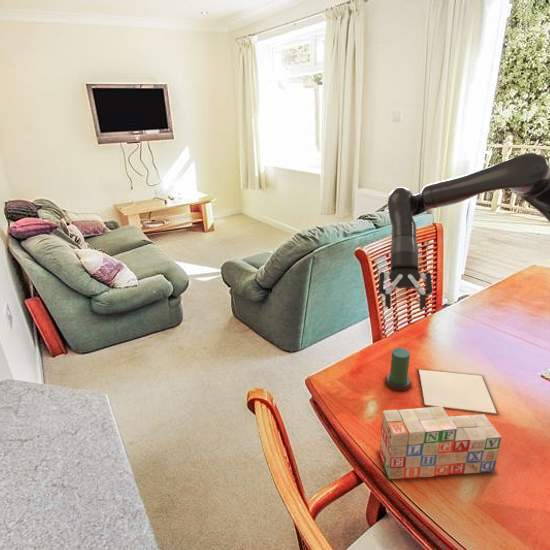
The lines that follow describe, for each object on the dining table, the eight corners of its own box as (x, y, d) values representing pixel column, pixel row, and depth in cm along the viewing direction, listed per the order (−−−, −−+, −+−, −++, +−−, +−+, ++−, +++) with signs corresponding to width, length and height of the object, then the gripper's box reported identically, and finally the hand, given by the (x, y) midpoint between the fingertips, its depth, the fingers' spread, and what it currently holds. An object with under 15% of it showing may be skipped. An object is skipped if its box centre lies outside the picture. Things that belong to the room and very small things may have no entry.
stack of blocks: (477, 446, 80) (487, 402, 76) (494, 472, 75) (506, 425, 70) (378, 453, 80) (382, 409, 75) (388, 480, 74) (392, 433, 70)
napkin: (481, 376, 101) (481, 375, 101) (496, 413, 89) (496, 413, 89) (418, 370, 105) (418, 369, 105) (424, 405, 92) (424, 404, 92)
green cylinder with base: (408, 377, 102) (412, 347, 98) (410, 392, 97) (414, 360, 93) (386, 375, 104) (388, 344, 100) (386, 389, 98) (389, 358, 94)
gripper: (428, 258, 110) (430, 312, 106) (378, 258, 114) (378, 310, 110) (432, 249, 103) (434, 307, 99) (379, 249, 107) (378, 305, 103)
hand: (405, 308), depth 104 cm, fingers open, 8 cm apart
